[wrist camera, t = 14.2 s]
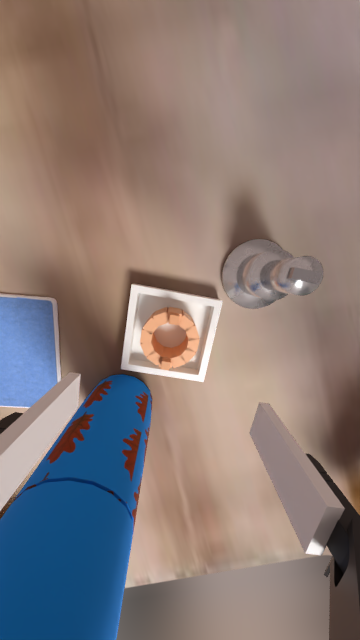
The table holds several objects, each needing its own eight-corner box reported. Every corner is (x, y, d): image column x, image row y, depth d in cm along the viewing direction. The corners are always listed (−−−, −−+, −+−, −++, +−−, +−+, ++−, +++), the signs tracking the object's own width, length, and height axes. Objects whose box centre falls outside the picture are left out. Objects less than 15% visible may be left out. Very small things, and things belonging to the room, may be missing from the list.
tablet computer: (-26, 290, 29) (-36, 291, 28) (59, 297, 30) (54, 298, 28) (-8, 401, 34) (-16, 406, 32) (65, 405, 34) (61, 411, 33)
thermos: (86, 420, 34) (-127, 776, 10) (96, 367, 32) (-150, 663, 8) (146, 432, 35) (84, 783, 11) (160, 381, 33) (120, 684, 9)
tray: (218, 298, 30) (222, 301, 27) (201, 373, 33) (203, 381, 30) (135, 283, 29) (131, 284, 27) (124, 361, 32) (120, 369, 29)
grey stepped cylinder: (295, 247, 28) (384, 228, 16) (275, 312, 31) (340, 337, 19) (230, 233, 28) (273, 203, 16) (214, 301, 30) (242, 320, 18)
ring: (190, 359, 31) (193, 375, 27) (141, 351, 31) (135, 366, 26) (200, 312, 30) (205, 319, 25) (148, 302, 29) (143, 308, 24)
